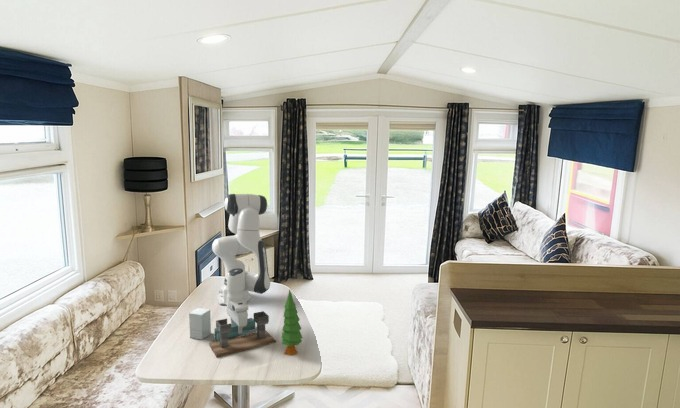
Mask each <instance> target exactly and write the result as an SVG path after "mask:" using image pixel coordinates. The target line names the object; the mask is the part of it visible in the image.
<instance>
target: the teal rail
mask: <svg viewBox="0 0 680 408" xmlns="http://www.w3.org/2000/svg"><path fill="white" fill-rule="evenodd" d="M255 330H256V322H255V321H254V318H252V317H249V318H248V320H247V326H245V327H243V329H242V333H240V334H239V333H238V325H237V324H236V323H232V324H231V332H228V339H230V338H234V337H239V336H243V335H245V334H247V333H249V332H252V331H255ZM217 341H220V332H219V331H218V329H217V328H216V327H214V342H217Z"/></svg>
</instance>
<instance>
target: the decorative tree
mask: <svg viewBox="0 0 680 408" xmlns="http://www.w3.org/2000/svg"><path fill="white" fill-rule="evenodd" d="M283 308H284V311H283V327H282V333H281V338H282V339H281V340H282V341H281V344H282V345H284V346H286V348H285V351H284V353H283V355H286V356H287V355H288V356H295V355H297V354H298V353H299V352H298V350H297V349H296V346H299V345H300V344H301V343H302V339H303V335H302V333H301V330H302V326H301V324H300V320H301V319H300V317H299V316H298V312H299V311H298V310H297V306H296V304H295V301H294V297H293V294H292V291H291V289H288V294H287V298H286V301H285V303H284V307H283Z"/></svg>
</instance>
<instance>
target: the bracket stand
mask: <svg viewBox="0 0 680 408" xmlns="http://www.w3.org/2000/svg"><path fill="white" fill-rule="evenodd" d="M253 319H254V321H255V324H256V332H254V333H253V332H252V333H248V334H242V335H239V336H236V337H234V338H230V339H228V332H231V322H230V323H228V318H222V319H217V320H215V328H217V329H218V331H219V332H220V341H212V342H209V343H208V344H209V345H208V346H209V348H210V350H211V351H212V352H213V354H214V356H215V357H216V358H220V357H225V356H228V355H232V354H237V353H240V352H244V351H250V350H252V349H257V348H261V347H264V346H268V345H271V344H274V343H276V338H274V337H273V335H272V334H271V333H269V332H268V331H267V330H266V325H267V324H269V322H270V320H269V319H270V316H269V314H268V313H266V312H265V311H264V310H263V311H258V312H254V313H253Z"/></svg>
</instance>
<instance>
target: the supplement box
mask: <svg viewBox="0 0 680 408" xmlns="http://www.w3.org/2000/svg"><path fill="white" fill-rule="evenodd" d="M188 318H189V320H188V321H189V338H190V339H196V340H200V341H201V340H204V339H206V338H208V336H210V335H211V334H212V323H211V321H212V320H211V309H208V308H201V307H197V308H196V309H193V310H191V312H189V313H188Z"/></svg>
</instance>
